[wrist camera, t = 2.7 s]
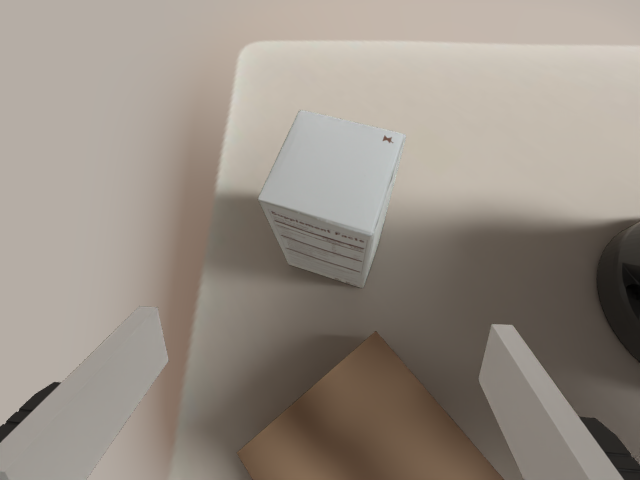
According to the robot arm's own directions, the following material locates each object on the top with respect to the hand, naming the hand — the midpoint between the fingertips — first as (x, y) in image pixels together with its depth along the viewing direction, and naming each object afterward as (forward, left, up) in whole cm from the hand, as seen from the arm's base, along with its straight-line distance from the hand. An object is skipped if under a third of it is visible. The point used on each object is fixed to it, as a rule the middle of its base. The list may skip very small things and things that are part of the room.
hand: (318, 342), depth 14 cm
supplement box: (-8, -7, -16) cm, 19 cm away
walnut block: (+2, +7, -16) cm, 17 cm away
